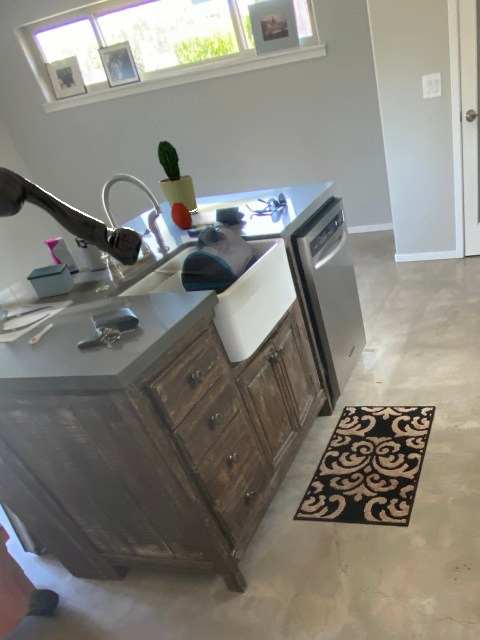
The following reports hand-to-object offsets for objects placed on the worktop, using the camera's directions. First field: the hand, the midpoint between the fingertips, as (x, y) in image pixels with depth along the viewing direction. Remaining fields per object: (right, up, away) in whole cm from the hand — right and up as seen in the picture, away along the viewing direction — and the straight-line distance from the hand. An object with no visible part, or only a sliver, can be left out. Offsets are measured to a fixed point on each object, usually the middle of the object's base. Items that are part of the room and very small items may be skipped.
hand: (92, 235), depth 179 cm
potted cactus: (+4, +51, +75) cm, 91 cm away
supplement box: (-18, -6, +16) cm, 24 cm away
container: (-11, -20, -1) cm, 23 cm away
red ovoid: (+13, +30, +50) cm, 60 cm away
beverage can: (-6, -5, +15) cm, 17 cm away
